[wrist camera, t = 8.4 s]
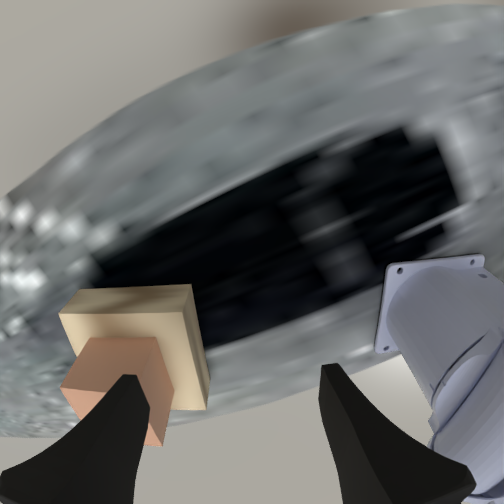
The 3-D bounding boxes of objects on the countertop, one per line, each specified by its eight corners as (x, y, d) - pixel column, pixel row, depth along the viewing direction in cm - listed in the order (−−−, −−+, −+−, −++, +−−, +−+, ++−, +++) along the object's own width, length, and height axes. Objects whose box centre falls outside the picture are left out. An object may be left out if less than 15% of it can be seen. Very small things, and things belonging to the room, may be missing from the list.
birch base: (191, 283, 21) (182, 312, 18) (210, 378, 25) (206, 409, 21) (79, 289, 21) (58, 313, 18) (112, 376, 25) (100, 404, 22)
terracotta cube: (156, 337, 19) (135, 394, 14) (174, 391, 21) (162, 446, 16) (89, 337, 19) (59, 387, 14) (113, 388, 21) (93, 438, 16)
